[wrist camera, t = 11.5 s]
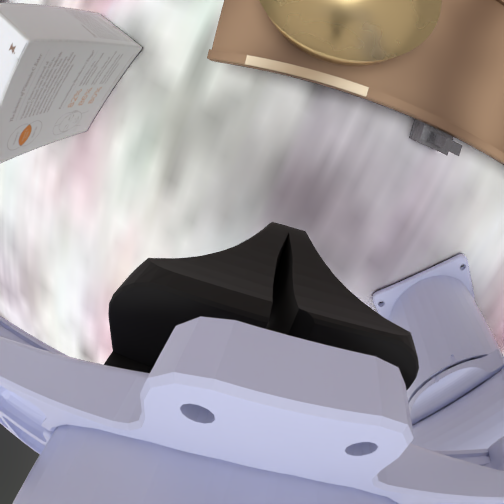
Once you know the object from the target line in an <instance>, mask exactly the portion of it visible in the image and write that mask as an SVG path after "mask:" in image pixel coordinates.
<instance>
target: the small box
mask: <svg viewBox="0 0 504 504" xmlns="http://www.w3.org/2000/svg"><path fill="white" fill-rule="evenodd" d="M141 49H142V47H141V46H140V45H139V44H138V43H136V42H135V41H134V40H133V39H131V38H130V37H129V36H128V35H126V34H125V33H124V32H123V31H121V30H120V29H119V28H117V27H116V26H115V25H114V24H112V23H111V22H110V21H108V20H107V19H106V18H104V17H103V16H102V15H100V14H99V13H96V12H90V11H84V10H78V9H72V8H65V7H57V6H48V5H37V4H24V3H0V163H2V162H5V161H7V160H9V159H12V158H14V157H16V156H19V155H21V154H24V153H26V152H29V151H32V150H34V149H37V148H39V147H42V146H45V145H47V144H50V143H53V142H55V141H58V140H61V139H64V138H67V137H70V136H73V135H76V134H79V133H83V132H86V131H87V130H88V128H89V126H90V125H91V123H92V121H93V119H94V118H95V116H96V114H97V113H98V111H99V110H100V108H101V106H102V105H103V103H104V102H105V100H106V99H107V97H108V95H109V94H110V92H111V91H112V89H113V88H114V86H115V85H116V84H117V82H118V81H119V79H120V78H121V76H122V75H123V73H124V72H125V71H126V69H127V68H128V66H129V65H130V64H131V62H132V61H133V60H134V58H135V57H136V56H137V54H138V53H139V52H140V51H141Z"/></svg>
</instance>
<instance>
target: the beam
mask: <svg viewBox="0 0 504 504" xmlns="http://www.w3.org/2000/svg"><path fill="white" fill-rule="evenodd" d="M207 58H208V59H209V60H211V61H215V62H220V63H227V64H233V65H238V66H244V67H249V68H254V69H259V70H264V71H269V72H273V73H278V74H282V75H286V76H290V77H294V78H298V79H302V80H306V81H309V82H313V83H317V84H320V85H323V86H327V87H330V88H333V89H337V90H340V91H343V92H346V93H349V94H352V95H355V96H358V97H361V98H364V99H367V100H369V101H372V102H375V103H377V104H380V105H383V106H385V107H388V108H390V109H393V110H396V111H398V112H400V113H403V114H405V115H408V116H410V117H412V118H415V119H417V120H419V121H421V122H424V123H426V124H428V125H430V126H432V127H435V128H437V129H439V130H441V131H443V132H445V133H447V134H449V135H451V136H453V137H455V138H457V139H459V140H461V141H463V142H465V143H467V144H468V145H470V146H472V147H474V148H476V149H478V150H479V151H481V152H483V153H485V154H486V155H488V156H490V157H492V158H493V159H495V160H497V161H498V162H500V163H502V164H503V165H504V0H442V6H441V12H440V16H439V19H438V22H437V24H436V26H435V28H434V29H433V31H432V33H431V34H430V35H429V36H428V37H427V39H426V40H425V41H423V42H422V43H421V44H420V45H419V46H417V47H416V48H414V49H412V50H411V51H409V52H407V53H404V54H402V55H400V56H397V57H394V58H392V59H389V60H386V61H383V62H380V63H377V64H372V65H366V66H344V65H338V64H333V63H329V62H326V61H322V60H320V59H317V58H315V57H312V56H310V55H308V54H307V53H305V52H303V51H301V50H300V49H298V48H297V47H295V46H294V45H293V44H291V43H290V42H289V41H288V40H287V39H286V38H285V37H284V36H283V35H282V34H281V33H280V32H279V31H278V29H277V28H276V27H275V25H274V24H273V23H272V21H271V19H270V18H269V16H268V15H267V13H266V12H265V10H264V8H263V7H262V5H261V3H260V2H259V0H224V3H223V7H222V11H221V15H220V18H219V22H218V26H217V30H216V34H215V38H214V42H213V47H212V50H210V49H209V52H208V56H207Z"/></svg>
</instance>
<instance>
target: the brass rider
mask: <svg viewBox="0 0 504 504" xmlns="http://www.w3.org/2000/svg"><path fill="white" fill-rule="evenodd" d="M259 2H260V3H261V5H262V7H263V8H264V10H265V12H266V13H267V15H268V16H269V18H270V19H271V21H272V23H273V24H274V25H275V27H276V28H277V29H278V31H279V32H280V33H281V34H282V35H283V36H284V37H285V38H286V39H287V40H288V41H289V42H290V43H291V44H293V45H294V46H295V47H297V48H298V49H300V50H301V51H303V52H305V53H307V54H308V55H310V56H312V57H315V58H317V59H320V60H322V61H326V62H329V63H333V64H338V65H344V66H366V65H372V64H377V63H380V62H383V61H386V60H389V59H392V58H394V57H397V56H400V55H402V54H404V53H407V52H409V51H411V50H412V49H414V48H416V47H417V46H419V45H420V44H421V43H422V42H423V41H425V40H426V39H427V37H428V36H429V35H430V34H431V33H432V31H433V29H434V28H435V26H436V24H437V22H438V19H439V16H440V12H441V6H442V0H259Z"/></svg>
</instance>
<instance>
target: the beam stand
mask: <svg viewBox="0 0 504 504" xmlns="http://www.w3.org/2000/svg"><path fill="white" fill-rule="evenodd" d="M409 138H411V139H413V140H415V141H417V142H419V143H421V144H424V145H426V146H428V147H430V148H432V149H435V150H437V151H439V152H441V153H443V154H445V155H448V152H451V153H454V154H456V155H458V156H459V154H460V151H461V148H462V145H460V144H458V143H456V142H454V141H452V140H453V136H451V135H449V134H447V133H445V132H443V131H441V130H439V129H437V128H435V127H432V126H430V125H428V124H426V123H424V122H421V121H419V120H417V119H415V121H414V124H413V127H412V130H411V133H410V136H409Z"/></svg>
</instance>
